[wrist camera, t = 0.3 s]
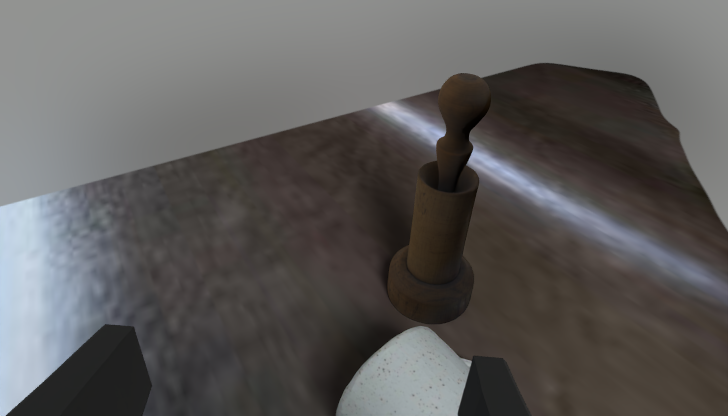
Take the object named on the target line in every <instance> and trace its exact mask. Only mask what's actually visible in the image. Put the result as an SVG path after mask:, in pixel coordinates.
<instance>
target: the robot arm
mask: <svg viewBox="0 0 728 416" xmlns="http://www.w3.org/2000/svg"><path fill="white" fill-rule="evenodd" d="M151 387H152V384H151V381H150V378H149V375H148V371H147V368H146V365H145V362H144V358H143V355H142V352H141V349H140V345H139V342H138V339H137V336H136V332H135V329H134V327H131V326H120V325H108V324H105V325H104V326H103V327H102V328H101V329H99V330H98V331H97V332H96V333H95V334H94V335H93V336H92V337H91V338H90V339H89V340H88V341H86V342H85V343H84V344H83V345H82V346H81V347H80V348H79V349H78V350H77V351H76V352H75V353H74V354H73V355H72V356H71V357H69V358H68V359H67V360H66V361H65V362H64V363H63V364H62V365H61V366H60V367H59V368H58V369H57V370H56V371H54V372H53V373H52V374H51V375H50V376H49V377H48V378H47V379H46V380H45V381H44V382H43V383H42V384H40V385H39V386H38V387H37V388H36V389H35V390H34V391H33V392H32V393H30V394H29V395H28V396H27V397H26V398H25V399H24V400H23V401H21V402H20V403H19V404H18V405H17V406H16V407H15V408H14V409H13V410H11V411H10V412H9V413H8V414H7V415H6V416H142V414H143V412H144V409H145V405H146V402H147V399H148V396H149V393H150V390H151ZM458 416H531V414H530V412H529V410H528V408H527V406H526V404H525V402H524V400H523V397H522V395H521V393H520V391H519V389H518V387H517V385H516V383H515V380H514V378H513V376H512V374H511V372H510V369H509V367H508V365H507V362H506V361H505V360H504V359H503V358H494V357H482V356H473V359H472V363H471V366H470V370H469V373H468V377H467V381H466V384H465V388H464V391H463V395H462V399H461V402H460V406H459V409H458Z"/></svg>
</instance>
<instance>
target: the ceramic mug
mask: <svg viewBox="0 0 728 416" xmlns="http://www.w3.org/2000/svg"><path fill="white" fill-rule="evenodd" d="M471 363H472V361H470V360H466V359H462V358H460V357H459V356H457V354H456V353H455V352H454V351H453V350H452V349H451V348H450V347H449V346H448V345H447V344H446V343H445V342H444V341H443V340H441V339H440V338H439V337H438V336H437V335H436V334H435V333H434V332H433V331H432V330H431V329H430V328H428V327H423V326H419V327H414V328H411V329H408V330H406V331H404V332H402V333H401V334H399V335H397V336H396V337H394V338H392V339H391V340H390V341H388V342H387V343H386V344H385V345H384V346H383V347H381V348H380V349H379V350H378V351H377V352H375V353H374V354H373V355H372V356H371V357H370V358H369V359H368V360H367V361H366V362H365V363H364V364H363V365H362V366H361V367H360V369H359V370H358V371H357V372H356V374H355V375H354V377H353V379H352V380H351V382H350V383H349V384H348V385H347V387H346V389H345V390H344V392H343V394H342V397H341V399H340V402H339V404H338V408H337V411H336V416H458V409H459V406H460V402H461V399H462V395H463V391H464V388H465V384H466V381H467V377H468V373H469V370H470V366H471Z"/></svg>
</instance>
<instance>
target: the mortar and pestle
mask: <svg viewBox="0 0 728 416" xmlns="http://www.w3.org/2000/svg"><path fill="white" fill-rule="evenodd" d="M490 102H491V94H490V90H489V87H488V85H487V83H486V82H485V81H484V80H483V79H482V78H480V77H478V76H476V75H473V74H467V73H460V74H456V75H453V76H452V77H450V78H449V79H448V80H447V81H446V82H445V83H444V84H443V86H442V88H441V90H440V93H439V98H438V104H439V109H440V112H441V114H442V117H443V119H444V122H445V124H446V134H445V136H444V137H441V138H440V139H439V140H438V141H437V145H436V153H437V161H433V162H430V163H427V164H425V165H423V166H422V167H421V168H420V170H419V172H418V179H417V188H416V196H415V205H414V213H413V221H412V228H411V236H410V243H409V245H407V246H405V247H403V248H402V249H400V250H399V251H398V252H397V253H396V254H395V255H394V257H393V258H392V260H391V263H390V267H389V277H388V284H387V290H388V295H389V298H390V300H391V302H392V304H393V305H394V307H395V308H396V309H397V310H398V311H399V312H401V313H402V314H403V315H405V316H406V317H408V318H410V319H412V320H415V321H418V322H421V323H426V324H442V323H446V322H449V321H452V320H454V319H456V318H457V317H459V316H460V315H461V314H462V313H463V312H464V311H465V310H466V308H467V306H468V304H469V301H470V297H471V293H472V289H473V284H474V274H473V270H472V267H471V266H470V264H469V262H468V261H467V260H466V259H465V258H464V257H463V256H462V254H463V249H464V245H465V240H466V236H467V231H468V227H469V222H470V218H471V214H472V209H473V205H474V201H475V197H476V193H477V189H478V185H479V177H478V175H477V173H476V172H475V171H474V170H473V169H471V168H470V167H468V166H466V164H467V162H468V160H469V158H470V156H471V153H472V151H473V145H472V143H471V142H470V141H469V133H470V131H471V130H472V129H473V128H474V127H475V126H476V125H477V124H478V123H479V121H480V120H481V119H482V118H483V117H484V116H485V115H486V113H487V111H488V109H489V107H490Z"/></svg>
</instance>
